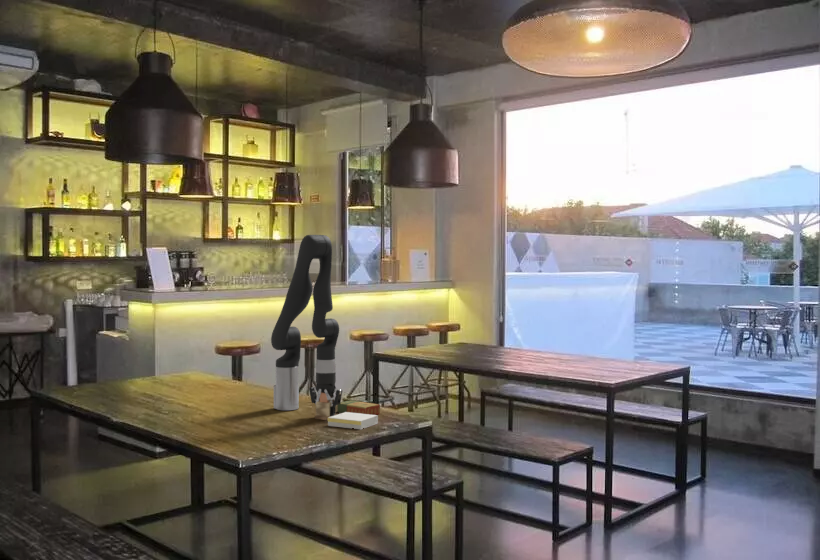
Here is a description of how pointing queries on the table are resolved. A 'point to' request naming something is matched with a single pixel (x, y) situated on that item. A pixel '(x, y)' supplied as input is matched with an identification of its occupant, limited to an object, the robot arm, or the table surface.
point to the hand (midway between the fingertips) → (325, 415)
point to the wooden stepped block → (322, 410)
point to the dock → (353, 420)
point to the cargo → (323, 398)
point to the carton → (358, 407)
